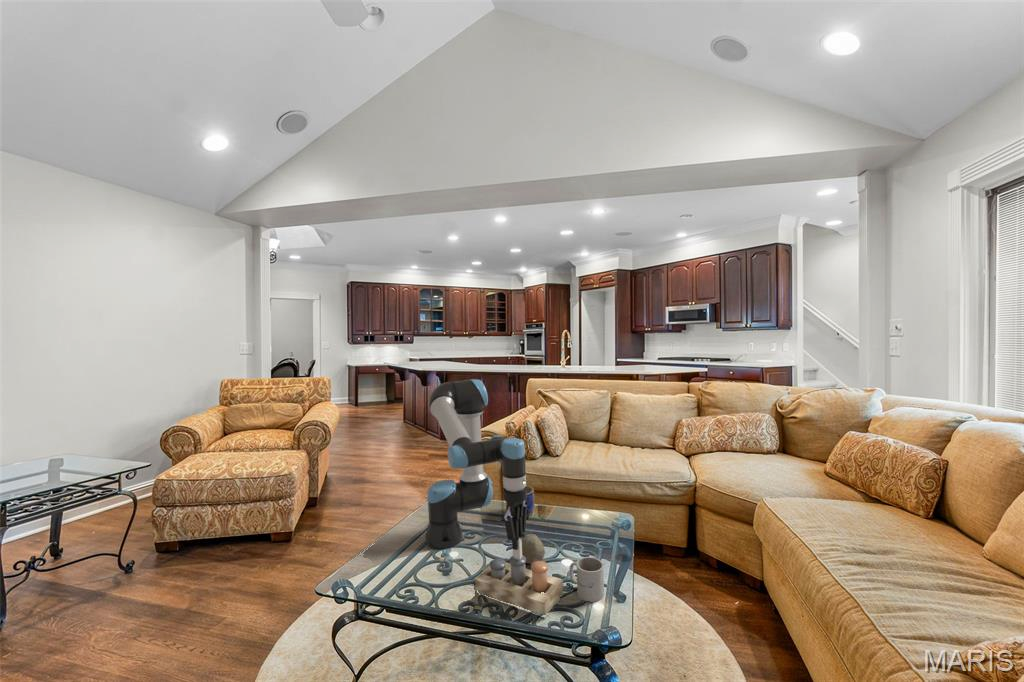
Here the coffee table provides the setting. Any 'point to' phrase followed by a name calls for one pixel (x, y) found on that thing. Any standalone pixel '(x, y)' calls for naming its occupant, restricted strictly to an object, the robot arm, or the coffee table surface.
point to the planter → (530, 499)
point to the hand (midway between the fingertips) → (517, 556)
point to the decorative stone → (532, 548)
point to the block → (520, 590)
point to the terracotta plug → (539, 575)
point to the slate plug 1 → (497, 568)
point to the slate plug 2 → (518, 570)
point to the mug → (589, 578)
